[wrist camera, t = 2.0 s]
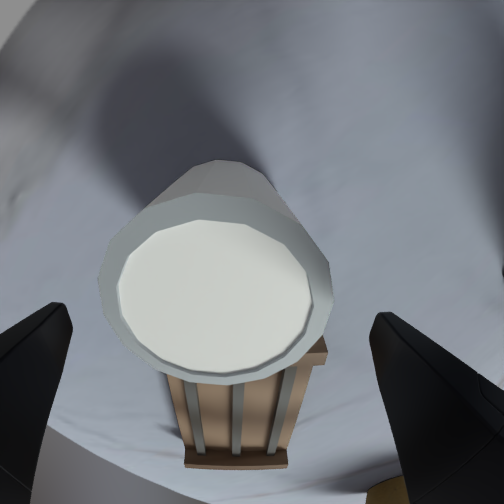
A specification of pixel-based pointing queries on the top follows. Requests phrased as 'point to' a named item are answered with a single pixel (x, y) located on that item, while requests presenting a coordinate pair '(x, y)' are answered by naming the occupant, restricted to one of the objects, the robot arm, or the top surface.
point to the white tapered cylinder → (216, 279)
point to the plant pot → (388, 492)
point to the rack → (243, 417)
